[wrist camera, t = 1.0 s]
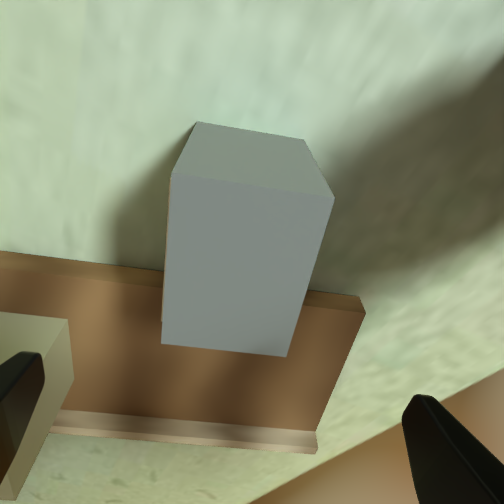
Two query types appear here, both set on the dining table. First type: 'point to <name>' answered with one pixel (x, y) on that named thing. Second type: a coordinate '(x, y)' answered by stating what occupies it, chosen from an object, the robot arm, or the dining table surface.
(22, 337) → the sage tin
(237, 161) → the tea tin
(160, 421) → the shelf
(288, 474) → the dining table surface
